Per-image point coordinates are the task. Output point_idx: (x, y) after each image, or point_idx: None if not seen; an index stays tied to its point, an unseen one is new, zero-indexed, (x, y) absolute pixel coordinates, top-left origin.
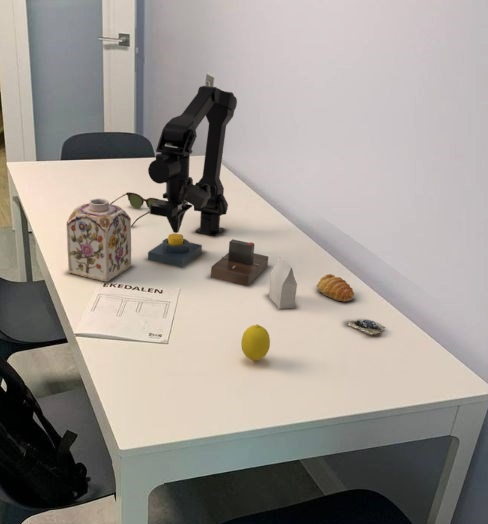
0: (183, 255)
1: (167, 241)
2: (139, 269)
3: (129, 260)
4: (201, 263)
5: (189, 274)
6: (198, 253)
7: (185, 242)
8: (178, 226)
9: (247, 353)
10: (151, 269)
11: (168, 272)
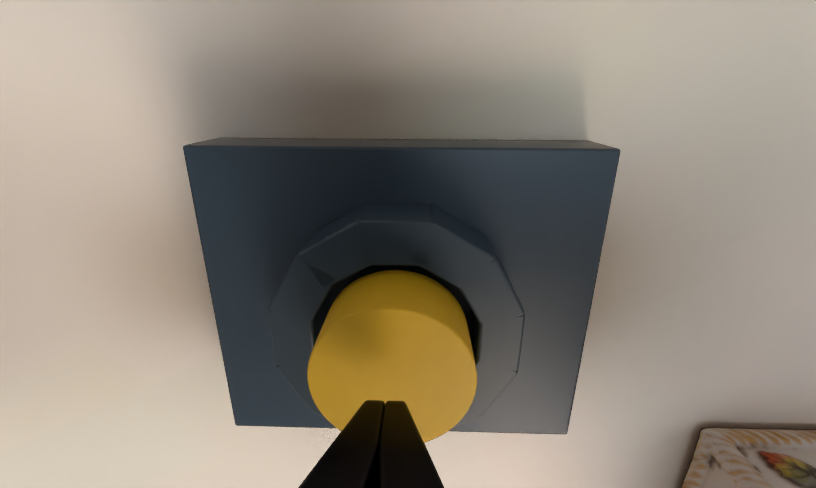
0: (516, 184)
1: None
2: (718, 370)
3: (754, 466)
4: (429, 30)
5: (706, 15)
6: (277, 139)
7: (350, 262)
8: (407, 467)
9: None
10: (695, 311)
11: (714, 190)
